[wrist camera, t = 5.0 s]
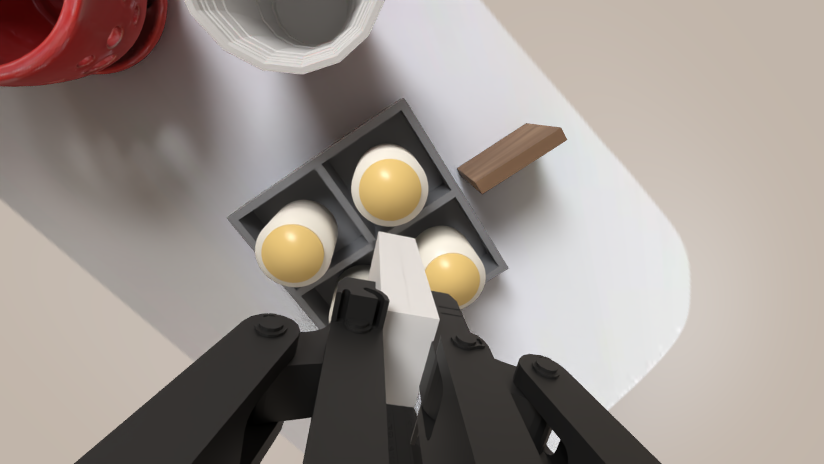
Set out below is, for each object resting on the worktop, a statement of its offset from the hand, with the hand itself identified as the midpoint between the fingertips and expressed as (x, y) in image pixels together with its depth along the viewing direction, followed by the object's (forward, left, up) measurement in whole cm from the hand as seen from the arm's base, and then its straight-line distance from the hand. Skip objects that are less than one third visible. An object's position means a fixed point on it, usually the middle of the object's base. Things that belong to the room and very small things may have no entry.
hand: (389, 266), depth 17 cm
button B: (-1, +1, -16) cm, 16 cm away
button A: (-1, -7, -16) cm, 17 cm away
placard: (+3, +10, -20) cm, 22 cm away
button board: (+3, -3, -20) cm, 21 cm away
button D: (+7, +1, -16) cm, 17 cm away
